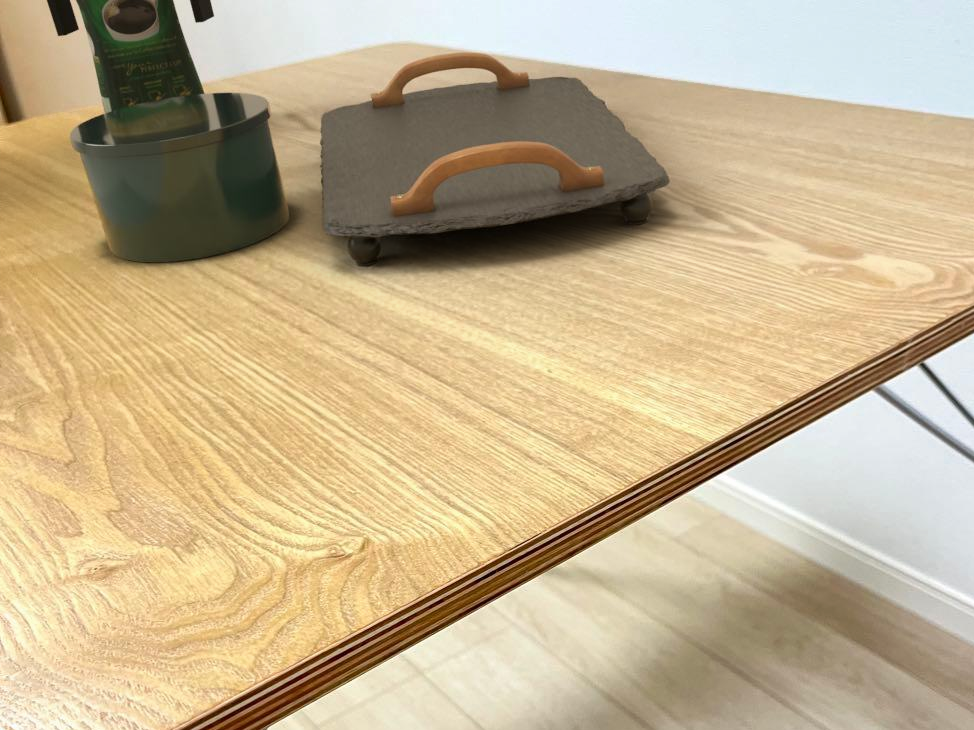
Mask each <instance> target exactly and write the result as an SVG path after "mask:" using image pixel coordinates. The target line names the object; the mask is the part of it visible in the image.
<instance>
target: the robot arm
mask: <svg viewBox="0 0 974 730" xmlns="http://www.w3.org/2000/svg"><path fill="white" fill-rule="evenodd" d="M46 2H47V6H48V9H49V12H50V15H51V19H52V22H53V25H54V28H55V31H56V34H57V37H65V36H68V35H70V34H73V33H74V32H77V31H79V30H80V28H79V25H78V21H77V17H76V14H75V11H74V9H73V5H72V2H71V0H46ZM189 3H190V6H191V10H192V15H193V18H194V22H195V23H196V24H197V23H204V22H206V21H208V20H210V19H212V18H214V17H215V13H214V10H213V5H212V1H211V0H189Z"/></svg>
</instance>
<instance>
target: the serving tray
mask: <svg viewBox="0 0 974 730" xmlns="http://www.w3.org/2000/svg"><path fill="white" fill-rule="evenodd" d="M459 69H478V70H479V69H480V70H485V71H489V72H490V73H492V74H493V75H495V79H496V80H495V81H490V82H474V83H467V84H456V85H450V86H445V87H435V88H429V89H424V90H417V91H413V92H408V93H403V92H404V91H403V90H404V88H405V87H406V86H407V84H408V83H410V82H411V81H413V80H414V79H417V78H419V77H422V76H425V75H430V74H433V73H437V72H442V71H448V70H459ZM370 99H371V100H368V101H364V102H361V103H357V104H351V105H344V106H339V107H336V108H333V109H332V110H329V111H325V112H324V113H323V114H322V115H321V118H320V119H321V121H320V126H321V127H320V134H321V137H320V141H319V145H320V146H321V150H320V155H319V156H320V159H321V161H320V162H321V164H320V165H319V167H320V172H321V173H320V174H321V178H320V183H321V197H322V198H321V199H322V202H321V203H322V204H321V205H322V206H321V207H322V228H323V231H324V232H325V234H326V235H328V236H332V237H335V236H336V237H343V238H348V241H347V252H348V254H349V256H350V257H351V259H352V260H353V261H354V262H355V264H356V265H357V266H359V267H367V266H372V265H375V264H376V263H377V262H378V260H379V258H378V257H379V256H380V254H381V250H382V245H381V240H380V239H379V238H384V237H388V236H406V235H420V234H421V235H423V234H439V233H445V232H453V231H460V230H469V229H470V230H471V229H479V228H493V227H499V226H504V225H512V224H518V223H525V222H528V221H533V220H539V219H545V218H550V217H554V216H558V215H565V214H572V213H576V212H580V211H584V210H588V209H593V208H597V207H601V206H605V205H609V204H612V203H613V204H614V203H616V202H620V203H619V209H620V214H621V215H622V217H623V219H625V220H626V224H628V225H633V226H636V225H643V224H646V223H647V222H648V221H649V219H648V218H649V217H650V216H651V214H652V211H653V200H652V198H651V195H650V194H649V193H651V192H655V191H656V190H660V189H662V188H664V187H667V186H668V185H669V184H670V178H669V174H668V173H667V171H666V169H665V168H664V167H663V166H662V165H661V164H660V163H659V162H658V161H657V158H656V157H655V156H653V155H652V154H650V152H649V150H648V149H646V147H645V146H644V144H643V142H641V140H639V138H638V137H636V136H634V135H632V134H631V133H630V132H629V131H627V130H626V127H625V124H624V122H623V121H622V120H621V119H620V117H619V116H617V115H616V114H614V113H613V112H612V110H610V109H608V107H607V105H606V101H605V100H603V98H602V99H601V98H599V97H598V96H597V95H595V94H594V92H592V91H591V90H590V89H589V88H588V86H587V84H584V83H583V82H582V80H581V79H579V78H578V77H577V78H576V77H566V76H550V77H544V78H530V76H529V73H528V72H527V71H523V72H522V71H521V72H514V71H512V70H510V69H509V68H508V67H507V66H506V65H504V63H502V62H500V61H499V60H498V59H496V58H495V57H493V56H491V55H489V54H486V53H483V52H464V51H463V52H452V53H444V54H437V55H433V56H427V57H424V58H421V59H417V60H414V61H412V62H410V63H407V64H405V65H404V66H403V67H401V68H400V69H399V70H398V71H397V73H395V75H394V76H393V77H392V78H391V80H390V81H389V83H388V84H387V86H386V87H385V89H384V90H381V91H377V92H374V93H373V92H372V93H370Z"/></svg>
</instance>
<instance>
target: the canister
mask: <svg viewBox="0 0 974 730" xmlns="http://www.w3.org/2000/svg"><path fill="white" fill-rule="evenodd" d="M271 117H272V110H271V105H270V102H269V101H268V99H267V98H265V97H263V96H261V95H257V94H254V93H253V94H252V93H245V92H209V93H205V94H197V95H188V96H180V97H173V98H167V99H161V100H156V101H151V102H146V103H141V104H137V105H133V106H129V107H125V108H121V109H118V110H114V111H111V112H108V113H105V112H104V113H102V114H99V115H97V116H94V117H92V118H89V119H87V120H85V121H84V122H81V123H80V124H78V125H77V126H75V127H74V128H73V129H71V130H70V132H69V140H70V143H71V146H72V148H73V151H75V152H77V153H79V156H80V159H81V163H82V166H83V169H84V172H85V175H86V179H87V181H88V185H89V188H90V192H91V194H92V198H93V201H94V203H95V204H94V205H95V208H96V210H97V213H98V216H99V219H100V222H101V226H102V229H103V232H104V236H105V238H106V242H107V245H108V248H109V250H110V252H111V253H112V254H113V255H114V256H116V257H118V258H120V259H123V260H127V261H132V262H138V263H139V262H141V263H170V262H172V263H173V262H182V261H191V260H196V259H203V258H208V257H212V256H217V255H222V254H225V253H229V252H233V251H236V250H240V249H242V248H245V247H249V246H251V245H253V244H256V243H258V242H261V241H263V240H265V239H267V238H269V237H271V236H273V235H274V234H276V233H277V232H279V231H281V230H282V229H283V228H284V227H285V226H286V224H287V223H288V222H289V220H290V212H289V206H288V202H287V198H286V193H285V190H284V188H285V187H284V184H283V180H282V175H281V170H280V166H279V162H278V161H279V160H278V158H277V153H276V152H277V151H276V149H275V148H276V147H275V144H274V139H273V134H272V131H271V125H270V121H269V120H270V118H271Z"/></svg>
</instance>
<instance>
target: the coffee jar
mask: <svg viewBox="0 0 974 730" xmlns="http://www.w3.org/2000/svg"><path fill="white" fill-rule="evenodd" d="M75 2H76V4H77V6H78V9H79V12H80V14H81V18H82V21H83V24H84V28H85V32H86V36H87V39H88V44H89V47H90V51H91V55H92V60H93V64H94V69H95V74H96V79H97V84H98V89H99V94H100V99H101V103H102V107H103V111H104V114H105V113H108V112H111V111H114V110H118V109H121V108H125V107H129V106H133V105H137V104H141V103H146V102H151V101H156V100H161V99H167V98H173V97H180V96H188V95H197V94H206V93H205V91H204V87H203V84H202V81H201V79H200V77H199V74H198V71H197V67H196V66H195V63H194V60H193V58H192V55H191V52H190V49H189V46H188V43H187V41H186V38H185V35H184V32H183V29H182V25H181V22H180V19H179V16H178V13H177V12H178V11H177V9H176V5H175V1H174V0H75Z"/></svg>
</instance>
